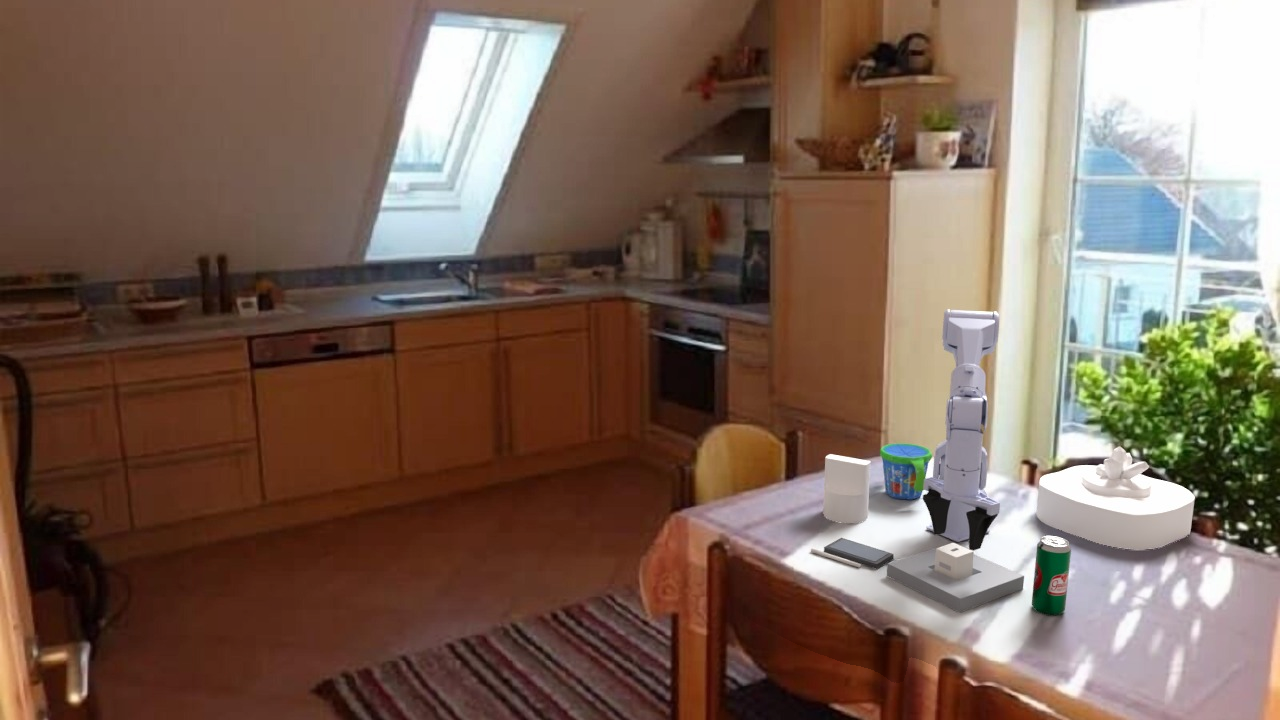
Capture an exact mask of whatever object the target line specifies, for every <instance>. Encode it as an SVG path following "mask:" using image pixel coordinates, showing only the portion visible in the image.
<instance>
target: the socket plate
mask: <svg viewBox="0 0 1280 720" xmlns="http://www.w3.org/2000/svg"><path fill="white" fill-rule="evenodd" d="M948 544H949V543H948ZM948 544H944V545H942V546H945V545H948ZM942 546H941V545H940V546H938V547H935V548H931V549H929V550H926V551H922V552H918V553H916V554H913V555H910V556H909V555H908V556H906V557H903V558H899V559H896V560H894V561H893V560H892V561H889V562H888V563H886V564H887V565H886V577H888V578H890V579H891V580H894V581H896V582H898V583H900V584H902V585H904V586H906V587H908V588H910V589H912V590H914V591H916V592H918V593H920V594H922V595H923V596H925V597H928V598H930V599H932V600H934V601H936V602H938V603H940V604H942V605H944V606H946V607H948V608H950V609H952V610H954V611H956V612H958V613H962V612H964V611H968V610H969V609H972V608H975V607H978V606H980V605H983V604H986V603H989V602H991V601H994V600H996V599H1000V598H1002V597H1005V596H1007V595H1010V594H1013V593H1015V592H1019V591H1022V590H1023V589H1024V583H1025V582H1024V581H1025V575H1023V574H1021V573H1018V572H1016V571H1014V570H1011V569H1009V568H1006V567H1004V566H1002V565H1000V564H998V563H995V562H993V561H990V560H989V559H986V558H984V557H981V556H979V555H977V554H975V553H974V554H973V569H972V576H969V577H966V578H964V579H961V580H958V581H957V580H954V579H952V578H950V577H948V576H946V575H944V574H942V573H939V572H937V571H935V555H936V548H939V547H942ZM1018 590H1019V591H1018Z"/></svg>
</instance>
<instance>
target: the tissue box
mask: <svg viewBox="0 0 1280 720" xmlns="http://www.w3.org/2000/svg"><path fill="white" fill-rule="evenodd" d="M1149 468H1150V465H1148V463H1147V462H1146V461H1139V462H1135V463H1133V457H1132V456H1131V453H1130V452H1126V450H1125V449H1124V448H1123V447H1121V446H1117V447H1116V448H1114V449H1113V450H1112V453H1111V455H1110V457H1109V458H1106V459H1104V460H1103V464H1102V463H1099V464H1098V465H1088V464H1085V465H1075V466H1071V467H1068V468H1065V469H1063V470H1059V471H1057V472H1051V473H1047V474H1044V475H1042V476H1041V477H1040V479H1039V480H1038V481H1039V482H1038V490H1037V491H1038V493H1037V501H1036V502H1037V504H1036V514H1035V516H1036V517H1037V519H1038V520H1039V521H1040V522H1042V523H1044V524H1045V525H1047V526H1049V527H1051V528H1054V529H1057V530H1058V529H1059V531H1061V530H1062V532H1064V533H1066V534H1067V533H1068V534H1069V533H1070V535H1072V534H1073V535H1072V536H1075V535H1076V536H1075V537H1078V536H1079V537H1078V538H1080V537H1082V538H1081V539H1083V538H1085V539H1084V540H1086V539H1087V540H1086V541H1089V540H1090V541H1089V542H1091V541H1093V542H1092V543H1094V542H1096V543H1095V544H1097V543H1099V544H1098V545H1101V544H1103V545H1102V546H1104V545H1107V546H1106V547H1108V546H1113V547H1121V548H1128V549H1129V548H1130V549H1149V548H1156V547H1159V546H1162V545H1165V544H1167V543H1169V542H1171V541H1174V540H1175V539H1178V538H1179V537H1182V536H1184V535H1187V534H1189V535H1190V534H1191V529H1192V521H1193V515H1194V508H1195V507H1194V506H1195V500H1196V497H1195V495H1194V494H1193V493H1192V491H1190V490H1189V489H1187V488H1185V487H1184V486H1182V485H1179V484H1177V483H1175V482H1170V481H1166V480H1163V479H1162V480H1161V479H1157V478H1153V477H1149V476H1146V475H1144V474H1142V473H1143V472H1146V471H1147V470H1148V469H1149ZM1113 547H1112V548H1113Z"/></svg>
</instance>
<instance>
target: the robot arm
mask: <svg viewBox="0 0 1280 720" xmlns="http://www.w3.org/2000/svg"><path fill="white" fill-rule="evenodd" d="M942 323H943V325H942V334H941V335H942V337H941V338H942V339H941V340H942V346H943V350H944V351H946V352H948V353H951V354H952V355H953V358H954V360H955V368H954V369H953V370H952V371H951V375H950V387H949V398H947V400H946V408H945V409H946V410H945V411H946V412H945V430H946V435H945V436H946V437H945V440H944V441H943V440H942V442H940V443H939V444H936V446H937V447H935V449H934V450H935V451H934V453H935V454H934V456H933V468H932V469H933V470H932V477H925V478H926V479H924V485H923V489H924V490H923V491H927V493H925V494H922V501H923V502H924V504H925V506H926V509H927V510H928V513H929V516H930V520H931V524H929V525H927V526H926V530H928V531H930V532H933V534H934V535H936V536H939V535H940V536H942V537H945V538H947V539H950V540H952V541H954V542H955V543H956V542H957V543H959V542H960V543H961V542H963V541H967V540H968V547H969V548H968V549H969V550H972V551H974V552H975V551H976V550H979V549H981V548H982V544H983V541H984V539H985V536H986V534H988V533H990V529H989V528H990V527H991V525H992V524H993V522H994V521H995V519H997V517H998V516H999V514H1000V509H1001V502H1000V501H997V500H995V499H993V498H991V497H990V496H988V495H987V491H986V490H985V488H986V486H987V479H988V478H987V477H988V476H987V475H988V452H987V450H986V449H985V447H984V446H983V443H984V442H983V440H984V439H983V438H984V433H985V432H986V429H987V427H988V418H989V416H988V415H989V404H988V397H987V393H986V384H987V381H986V380H987V374H986V372H985V370H984V369H983V368H982V367H980V365H981V364H980V363H981V361H982V359H983V357H984V356H987V355H990V354H993V353H994V350H996V346H997V344H998V341H999V330H1000V314H999V313H998V311H995V310H994V311H979V310H964V309H963V310H959V309H958V310H957V309H951V308H946V310H944V312H943V322H942ZM981 427H983V430H982V428H981Z"/></svg>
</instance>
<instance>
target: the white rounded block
mask: <svg viewBox="0 0 1280 720" xmlns="http://www.w3.org/2000/svg"><path fill="white" fill-rule="evenodd" d="M871 462H872V461H871V460H868V459H867V460H866V459H860V458H855V457H851V456H844V455H837V454H833V453H829V454H827V455H826V456H825V459H824V464H825V465H824V482H823V505H822V507H823V508H822V515H823V514H824V516H825V517H827V518H828V519H830V520H829V521H831V520H832V521H831V522H834V521H837V522H836V523H838V522H841V523H840V524H846V523H854V524H859V522H860V523H863V522H865V521H867V520H866V519H868V518H869V517H868V516H869V501H870V500H869V495H870V479H871V478H870V477H871ZM824 516H823V517H824ZM825 517H824V518H825ZM827 518H826V519H827ZM828 519H827V520H828ZM862 521H863V522H862Z"/></svg>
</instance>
